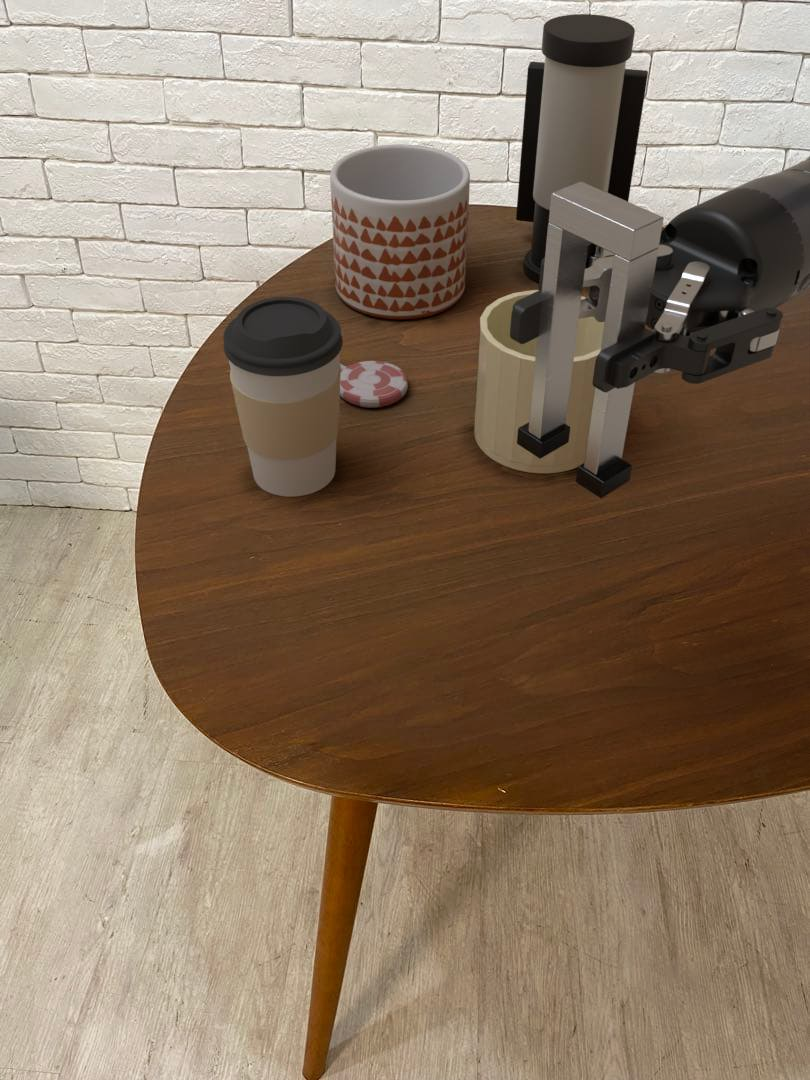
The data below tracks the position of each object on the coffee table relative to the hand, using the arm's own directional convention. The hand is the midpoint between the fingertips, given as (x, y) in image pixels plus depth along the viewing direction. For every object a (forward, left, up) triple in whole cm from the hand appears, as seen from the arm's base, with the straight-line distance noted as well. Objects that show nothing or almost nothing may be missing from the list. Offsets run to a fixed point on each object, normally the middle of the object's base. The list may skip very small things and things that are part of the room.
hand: (557, 349), depth 55 cm
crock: (+6, -27, -26) cm, 38 cm away
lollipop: (+26, -30, -26) cm, 47 cm away
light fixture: (+11, -58, -26) cm, 64 cm away
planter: (+26, -47, -26) cm, 59 cm away
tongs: (-1, -2, -9) cm, 9 cm away
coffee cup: (+24, -15, -26) cm, 38 cm away
